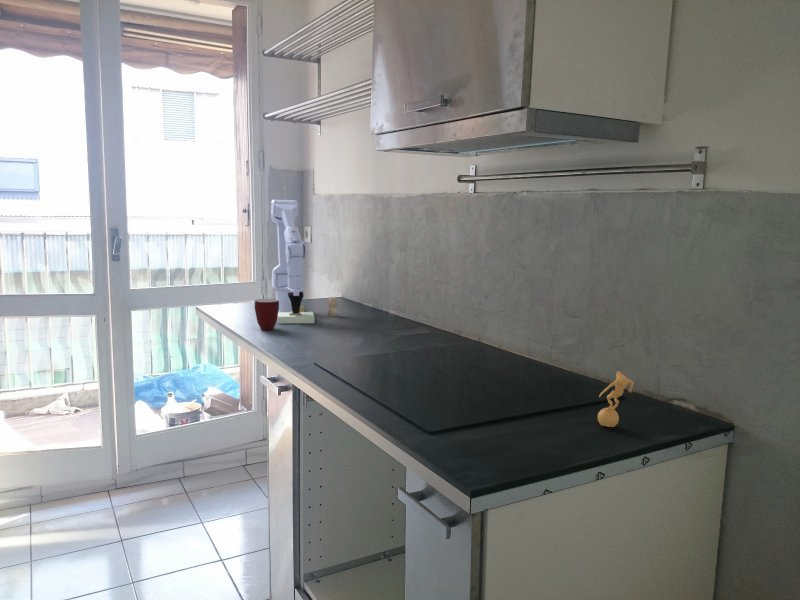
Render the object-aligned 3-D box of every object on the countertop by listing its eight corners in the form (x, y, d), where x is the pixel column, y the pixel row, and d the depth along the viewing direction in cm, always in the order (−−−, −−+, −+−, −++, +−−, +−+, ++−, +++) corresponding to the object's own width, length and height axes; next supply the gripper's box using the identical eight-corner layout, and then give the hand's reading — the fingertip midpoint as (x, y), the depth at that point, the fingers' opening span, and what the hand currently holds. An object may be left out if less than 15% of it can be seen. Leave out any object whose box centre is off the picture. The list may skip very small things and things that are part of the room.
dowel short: (297, 315, 234) (297, 305, 234) (305, 315, 235) (305, 305, 234) (297, 317, 232) (297, 306, 231) (305, 317, 232) (305, 306, 232)
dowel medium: (293, 315, 225) (293, 301, 224) (301, 316, 225) (301, 301, 224) (291, 317, 222) (291, 302, 221) (299, 317, 222) (299, 302, 221)
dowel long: (328, 315, 237) (328, 297, 236) (336, 315, 237) (336, 297, 236) (329, 316, 234) (329, 298, 233) (336, 316, 235) (337, 298, 233)
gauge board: (277, 319, 227) (277, 312, 226) (312, 318, 229) (312, 312, 229) (277, 323, 218) (277, 316, 218) (314, 323, 221) (314, 316, 220)
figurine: (615, 421, 125) (619, 364, 123) (638, 431, 119) (643, 372, 117) (584, 426, 121) (588, 368, 119) (606, 437, 116) (611, 376, 114)
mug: (250, 326, 212) (249, 298, 210) (272, 325, 215) (272, 297, 214) (258, 332, 202) (258, 302, 201) (282, 330, 206) (282, 301, 205)
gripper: (284, 273, 227) (284, 309, 229) (284, 278, 213) (284, 316, 215) (303, 273, 229) (303, 309, 231) (305, 278, 215) (305, 315, 217)
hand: (295, 312), depth 223 cm, fingers closed on dowel medium, 3 cm apart
